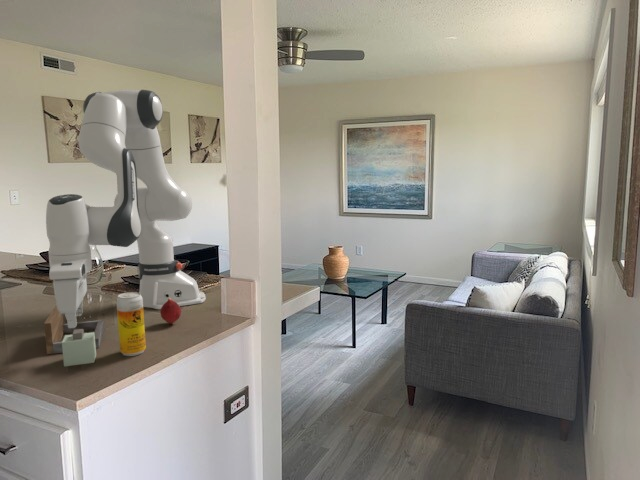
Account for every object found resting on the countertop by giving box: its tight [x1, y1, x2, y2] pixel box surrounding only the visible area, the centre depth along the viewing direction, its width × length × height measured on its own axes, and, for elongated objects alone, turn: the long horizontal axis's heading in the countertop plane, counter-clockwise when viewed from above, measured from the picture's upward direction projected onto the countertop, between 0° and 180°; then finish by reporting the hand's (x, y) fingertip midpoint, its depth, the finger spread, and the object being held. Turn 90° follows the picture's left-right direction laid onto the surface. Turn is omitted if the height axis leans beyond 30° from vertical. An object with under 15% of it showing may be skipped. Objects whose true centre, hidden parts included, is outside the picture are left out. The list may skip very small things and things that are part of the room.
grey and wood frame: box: [43, 305, 105, 355], centre depth 131 cm, size 12×16×8 cm
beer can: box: [116, 291, 147, 357], centre depth 122 cm, size 6×6×15 cm
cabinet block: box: [61, 329, 97, 367], centre depth 117 cm, size 6×5×8 cm
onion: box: [160, 298, 182, 325], centre depth 143 cm, size 6×6×8 cm
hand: (75, 321), depth 116 cm, fingers open, 8 cm apart
